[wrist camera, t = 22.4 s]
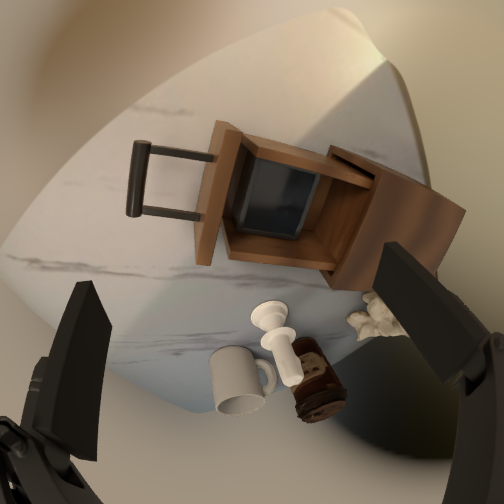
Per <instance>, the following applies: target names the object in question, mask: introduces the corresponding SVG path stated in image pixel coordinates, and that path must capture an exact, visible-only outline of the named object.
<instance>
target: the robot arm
mask: <svg viewBox="0 0 504 504" xmlns="http://www.w3.org/2000/svg"><path fill="white" fill-rule="evenodd" d="M372 288H373V290H374V291H375V292H376V293H377V295H378V296H379V297H380V298H381V300H382V301H383V302H384V304H385V305H386V306H387V307H388V309H389V310H390V311H391V313H392V314H393V315H394V317H395V318H396V319H397V321H398V322H399V323H400V325H401V326H402V327H403V329H404V330H405V331H406V333H407V334H408V335H409V337H410V338H411V339H412V341H413V342H414V344H415V345H416V346H417V348H418V349H419V351H420V352H421V354H422V355H423V356H424V357H425V359H426V360H427V362H428V364H429V365H430V367H431V368H432V369H433V371H434V372H435V374H436V375H437V377H438V378H439V380H440V381H441V383H442V384H444V383H446V382H448V381H449V380H451V379H452V378H454V377H455V375H456V374H457V373H458V372H459V371H460V369H461V370H462V371H463V373H462V374H461V375H460V377H459V378H458V379H457V380H456V381H455V382H454V384H453V385H452V389H454V388H455V387H456V386H457V385H458V384H459V383H460V385H459V386H458V387H457V389H456V390H460V400H459V415H458V426H457V434H456V441H455V449H454V454H453V460H452V465H451V470H450V475H449V479H448V484H447V488H446V491H445V495H444V499H443V502H442V504H504V335H503V334H501V333H499V332H494V333H492V334H491V333H490V332H489V331H488V330H487V329H486V328H485V326H484V325H483V324H482V323H481V322H480V321H479V320H478V318H477V317H476V316H475V315H474V314H473V313H472V312H471V311H470V310H469V308H468V307H467V306H466V305H464V303H463V302H462V301H461V300H460V299H459V297H458V296H456V295H455V294H453V293H452V292H450V291H449V290H447V289H446V288H445V287H444V286H443V285H442V284H441V283H440V282H439V281H438V280H437V279H436V278H435V277H434V276H433V275H432V274H431V273H430V272H429V271H428V270H427V269H426V268H425V267H424V266H423V265H422V264H421V263H419V262H418V261H417V260H416V259H415V258H414V257H413V256H412V255H411V254H410V253H409V252H408V251H407V250H405V249H404V248H403V247H402V246H401V245H400V244H399V243H398V242H397V241H392V242H385V243H384V246H383V250H382V254H381V258H380V261H379V265H378V269H377V272H376V276H375V279H374V282H373V286H372ZM111 331H112V325H111V323H110V321H109V319H108V316H107V314H106V312H105V310H104V308H103V306H102V303H101V301H100V299H99V297H98V294H97V292H96V290H95V287H94V285H93V282H92V280H91V281H82V282H77V283H76V285H75V287H74V289H73V292H72V294H71V296H70V299H69V301H68V304H67V306H66V309H65V311H64V314H63V316H62V319H61V322H60V324H59V327H58V330H57V333H56V335H55V338H54V341H53V344H52V347H51V350H50V353H49V357H41V359H40V360H39V362H38V363H37V364H36V366H35V368H34V371H33V375H32V378H31V380H32V381H31V382H30V385H29V391H28V393H27V397H26V401H25V405H24V410H23V415H22V420H21V424H20V426H18V425H17V424H16V423H14V422H13V421H12V420H11V419H9V418H8V417H6V416H0V504H103V503H102V502H101V500H100V499H99V498H98V497H97V495H96V494H95V493H94V492H93V490H92V489H91V488H90V486H89V485H88V484H87V482H86V481H85V480H84V478H83V477H82V475H81V474H80V473H79V471H78V469H77V468H76V467H75V465H74V464H73V463H72V462H71V461H70V454H71V455H73V456H75V457H76V458H78V459H82V460H88V461H97V439H98V424H99V412H100V402H101V393H102V385H103V377H104V371H105V364H106V358H107V352H108V347H109V341H110V336H111ZM8 481H9V482H11V483H12V485H13V489H11V488H10V485H9V482H8Z"/></svg>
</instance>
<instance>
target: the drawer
mask: <svg viewBox="0 0 504 504" xmlns="http://www.w3.org/2000/svg"><path fill="white" fill-rule="evenodd" d="M151 144H152V143H151V142H150V141H145V140H136V141H134V143H133V149H132V156H131V164H130V172H129V180H128V190H127V202H126V215H127V216H129V217H133V218H136V217H140V216H141V215H142V214H144V215H152V216H160V217H167V218H175V219H182V220H190V221H194V240H195V260H196V264H197V265H205V266H210V265H211V262H212V257H213V253H214V248H215V244H216V240H217V235H218V231H219V227H220V225H221V229H222V233H223V238H224V242H225V246H226V250H227V255H228V259H230V260H239V261H247V262H256V263H265V264H274V265H283V266H292V267H301V268H310V269H319V270H329V271H335V269H336V267H337V265H338V263H339V261H340V259H341V257H342V254H343V252H344V250H345V248H346V246H347V244H348V241H349V239H350V237H351V235H352V232H353V230H354V228H355V225H356V223H357V221H358V218H359V216H360V213H361V211H362V209H363V206H364V204H365V201H366V199H367V196H368V194H369V191H370V189H371V186H372V184H373V181H374V179H372V178H371V177H369V176H367V175H365V174H363V173H362V172H360V171H358V170H356V169H355V168H353V167H351V166H349V165H347V164H345V163H343V162H341V161H339V160H336V159H333V158H330V157H327V156H324V155H320V154H317V153H314V152H311V151H308V150H304V149H301V148H297V147H294V146H290V145H287V144H283V143H280V142H276V141H272V140H268V139H264V138H260V137H256V136H252V135H248V134H243V132H241V131H240V130H238V129H237V128H235V127H234V126H233V125H231V124H230V123H228V122H224V121H219V120H216V122H215V126H214V130H213V134H212V138H211V143H210V147H209V151H208V153H204V152H198V151H192V150H186V149H179V148H173V147H166V146H158V145H152V146H151ZM248 150H249V151H250V152H252V153H253V154H254V155H255V156H256V157H257V158H261V159H266V160H270V161H274V162H278V163H282V164H286V165H290V166H294V167H298V168H301V169H305V170H309V171H312V172H316V173H319V174H321V177H320V180H319V183H318V186H317V189H316V191H315V194H314V197H313V200H312V203H311V205H310V208H309V211H308V214H307V217H306V219H305V222H304V225H303V227H302V230H301V233H300V235H299V238H298V241H294V240H288V239H281V238H274V237H267V236H261V235H254V234H247V233H240V232H236V230H235V227H234V224H233V221H232V218H231V212H232V208H233V204H234V200H235V196H236V192H237V188H238V185H239V181H240V177H241V173H242V169H243V166H244V162H245V158H246V155H247V151H248ZM150 154H158V155H166V156H173V157H180V158H186V159H192V160H199V161H205V162H206V164H205V169H204V173H203V178H202V182H201V187H200V192H199V197H198V202H197V207H196V212H190V211H183V210H176V209H169V208H161V207H153V206H146V205H143V201H144V192H145V184H146V176H147V169H148V163H149V156H150Z"/></svg>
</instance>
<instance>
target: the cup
mask: <svg viewBox="0 0 504 504" xmlns="http://www.w3.org/2000/svg"><path fill="white" fill-rule="evenodd" d="M209 364H210V373H211V381H212V388H213V394H214V401H215V407H216V410H217V412H219V413H220V414H224V415H230V416H236V415H244V414H248V413H251V412H254V411H256V410H258V409H260V408H261V407H262V406H263V405H264V404H265V397H264V396H266V395H269V394H270V393H272V392H273V391H274V390H275V389H276V388H277V384H278V376H277V373H276V370H275V369H274V367H273V366H272V365H271V364H270V363H269V362H268V361H266V360H264V359H254V358H253V355H252V353H251V352H250V351H249V350H248V349H246V348H244V347H241V346H228V347H224V348H221V349H219V350H217V351H216V352H214V354H213V355H212V356H211V358H210V360H209ZM259 368H260V369H263V370H264V371H265V373H266V375H267V385H265V386H261V383H260V379H259V375H258V372H257V369H259Z"/></svg>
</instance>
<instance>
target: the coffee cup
mask: <svg viewBox="0 0 504 504" xmlns="http://www.w3.org/2000/svg"><path fill="white" fill-rule="evenodd" d="M291 345H292V348H293V350H294V353H295V355H296V356H297V357H298V358H299V359H300V361H301V367H302V370H303V373H304V378H303V380H302V381H301V382H300V383H299V384H297V385H293V386H291V387H290V388H291V392H292V393H293V394H294V397H295V400H296V406H295V408H296V412H297V414H298V416H297V417H298V418H301V419H302V421H304V422H306V423H315V422H318V421H321V420H325V419H326V418H329V417H331V416H333V415H335V414H336V413H337V412H339V411H340V410H341V409H342V408H343V407H344V405H345V404H346V398H347V389H345V388H344V387H343V386H342V384H341V383H340V380H339V379H338V377H337V375H336V374H335V372H334V370H333V369H332V367H331V365H330V363H329V362H328V360H327V359H326V357H325V355H324V354H323V352H322V350H321V348H320V347H319V346H318V344H317V343H316V341H315V340H314V339H313V338H302V339H299V340H297V341H295V342H293V343H291Z"/></svg>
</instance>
